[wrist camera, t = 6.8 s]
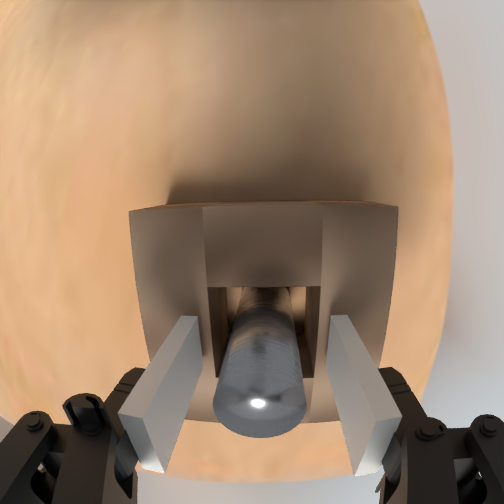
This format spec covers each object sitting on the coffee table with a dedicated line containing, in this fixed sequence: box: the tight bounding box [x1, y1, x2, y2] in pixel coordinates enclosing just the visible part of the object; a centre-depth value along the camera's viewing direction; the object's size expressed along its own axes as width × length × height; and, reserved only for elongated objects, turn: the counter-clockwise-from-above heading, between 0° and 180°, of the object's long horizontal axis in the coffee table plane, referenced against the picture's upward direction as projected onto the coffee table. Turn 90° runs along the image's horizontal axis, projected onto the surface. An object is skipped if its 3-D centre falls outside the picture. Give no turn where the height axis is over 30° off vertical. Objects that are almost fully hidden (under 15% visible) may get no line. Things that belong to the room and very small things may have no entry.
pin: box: [213, 287, 307, 438], centre depth 13 cm, size 3×3×10 cm
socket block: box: [129, 200, 398, 424], centre depth 15 cm, size 12×12×5 cm
